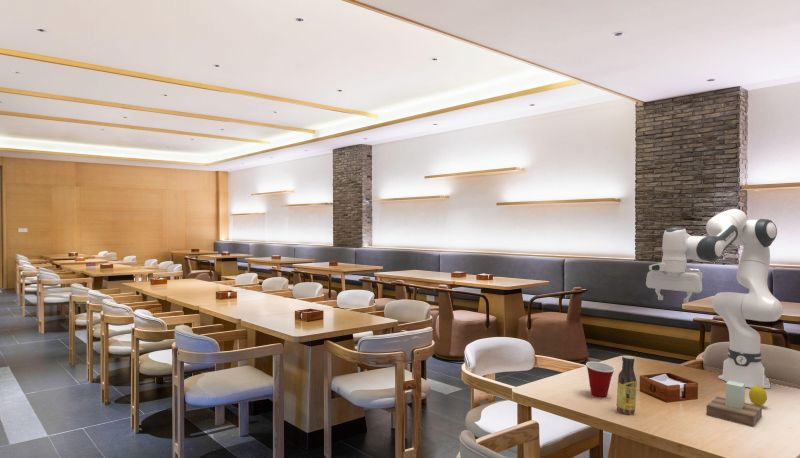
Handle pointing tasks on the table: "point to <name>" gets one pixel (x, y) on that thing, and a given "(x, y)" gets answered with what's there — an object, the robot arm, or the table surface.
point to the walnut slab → (734, 412)
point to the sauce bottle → (626, 387)
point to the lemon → (757, 395)
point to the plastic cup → (599, 378)
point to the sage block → (735, 395)
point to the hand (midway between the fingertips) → (673, 301)
